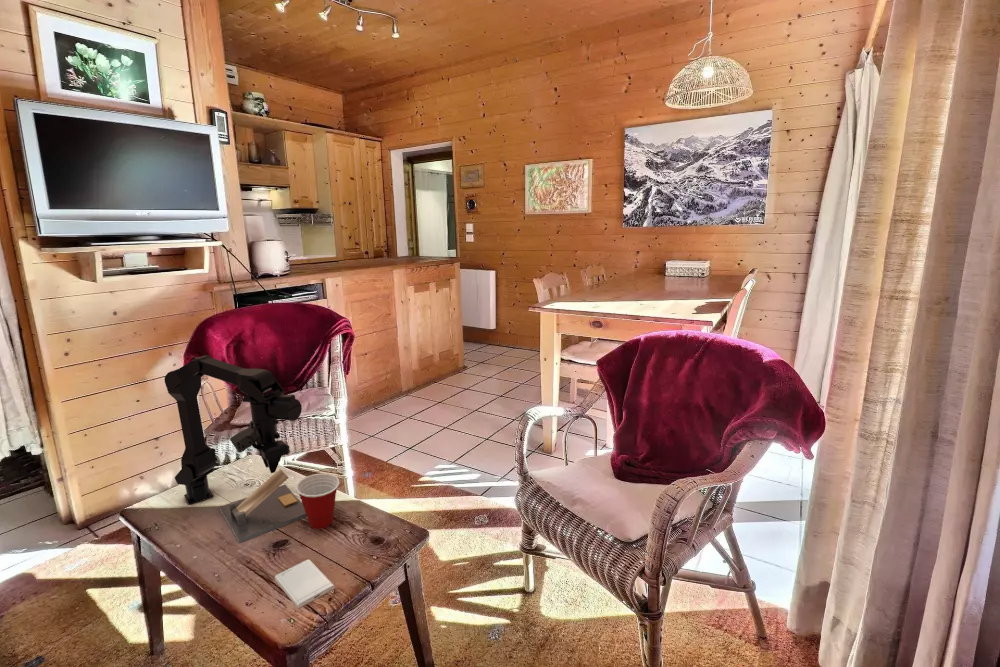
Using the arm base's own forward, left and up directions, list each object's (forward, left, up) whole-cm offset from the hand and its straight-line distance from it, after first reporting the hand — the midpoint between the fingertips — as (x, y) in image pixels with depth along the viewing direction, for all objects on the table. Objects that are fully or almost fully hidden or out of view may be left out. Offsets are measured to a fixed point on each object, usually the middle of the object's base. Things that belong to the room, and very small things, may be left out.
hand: (270, 469), depth 139 cm
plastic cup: (+16, +7, -12) cm, 21 cm away
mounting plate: (0, -3, -12) cm, 12 cm away
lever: (0, -3, -7) cm, 8 cm away
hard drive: (+36, -5, -13) cm, 39 cm away
